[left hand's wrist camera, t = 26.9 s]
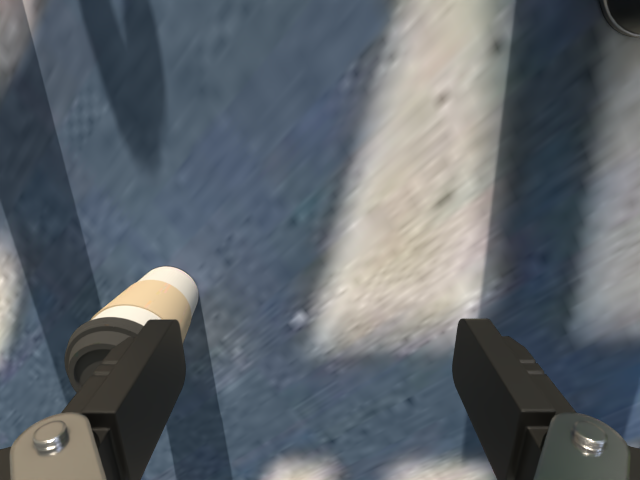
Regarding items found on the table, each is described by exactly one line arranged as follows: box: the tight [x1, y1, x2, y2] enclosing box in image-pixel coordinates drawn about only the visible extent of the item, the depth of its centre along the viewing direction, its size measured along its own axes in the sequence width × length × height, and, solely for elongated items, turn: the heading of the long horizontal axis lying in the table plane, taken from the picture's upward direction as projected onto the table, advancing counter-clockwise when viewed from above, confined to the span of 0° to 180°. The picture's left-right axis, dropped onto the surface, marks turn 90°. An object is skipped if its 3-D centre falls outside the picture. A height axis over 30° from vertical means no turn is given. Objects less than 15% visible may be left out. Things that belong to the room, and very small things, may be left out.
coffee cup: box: [65, 267, 199, 392], centre depth 40 cm, size 9×9×15 cm
